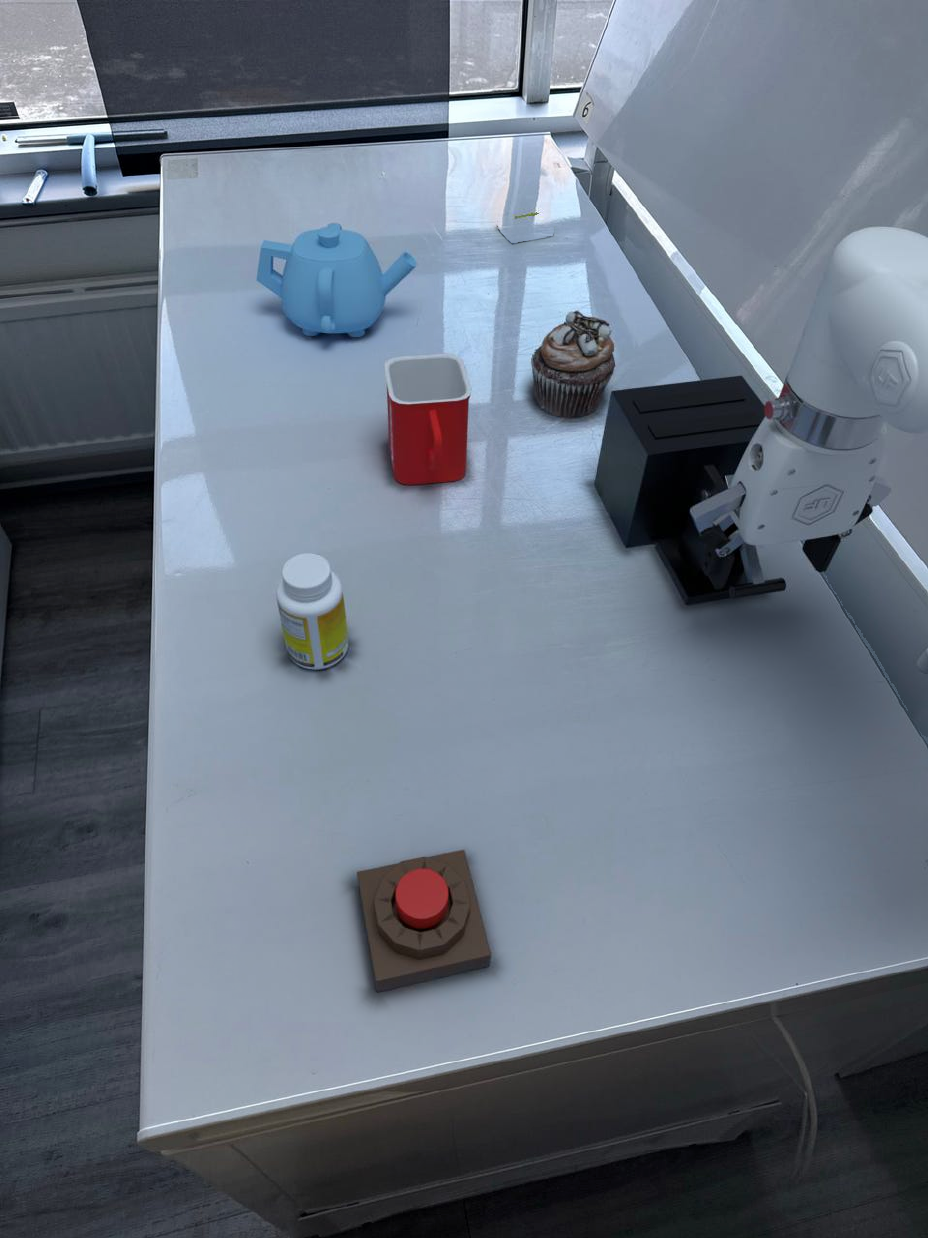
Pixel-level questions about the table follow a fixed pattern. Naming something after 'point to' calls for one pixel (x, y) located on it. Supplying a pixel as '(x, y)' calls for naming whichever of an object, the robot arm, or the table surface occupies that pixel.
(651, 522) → the toaster
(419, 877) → the red button
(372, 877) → the button block
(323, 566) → the supplement bottle
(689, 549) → the lever bracket
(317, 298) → the teapot
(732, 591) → the toaster lever
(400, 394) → the mug
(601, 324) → the cupcake
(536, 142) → the table surface
